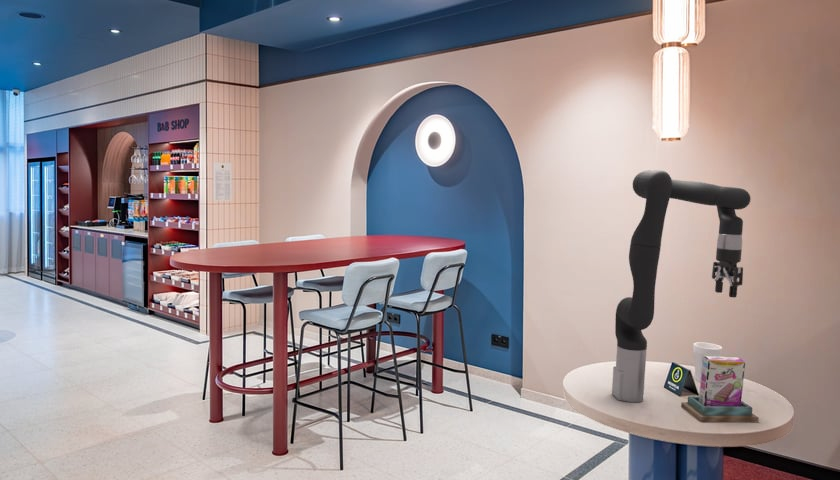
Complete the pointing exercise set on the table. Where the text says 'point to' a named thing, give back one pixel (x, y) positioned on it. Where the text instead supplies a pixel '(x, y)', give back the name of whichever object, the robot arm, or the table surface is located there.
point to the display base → (719, 412)
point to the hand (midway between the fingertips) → (725, 294)
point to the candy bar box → (721, 381)
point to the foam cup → (704, 350)
